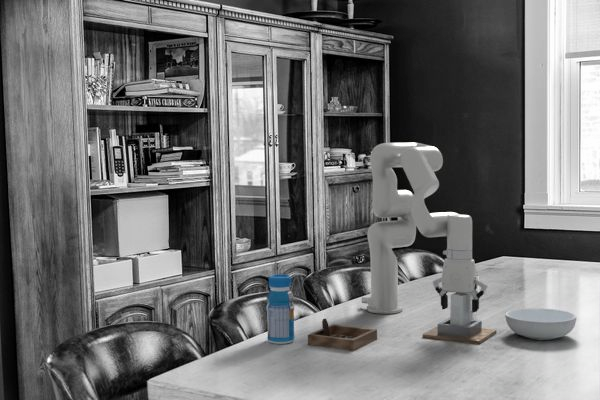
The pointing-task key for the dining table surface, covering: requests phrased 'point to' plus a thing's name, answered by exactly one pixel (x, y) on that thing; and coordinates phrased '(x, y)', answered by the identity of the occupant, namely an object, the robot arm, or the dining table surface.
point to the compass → (326, 330)
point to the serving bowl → (540, 322)
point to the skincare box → (460, 309)
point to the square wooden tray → (360, 334)
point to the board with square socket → (460, 332)
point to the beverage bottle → (280, 310)
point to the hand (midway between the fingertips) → (459, 310)
